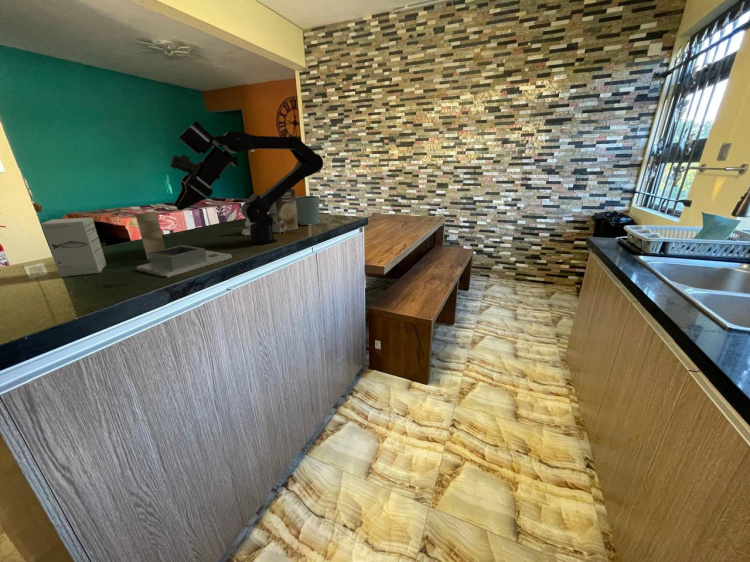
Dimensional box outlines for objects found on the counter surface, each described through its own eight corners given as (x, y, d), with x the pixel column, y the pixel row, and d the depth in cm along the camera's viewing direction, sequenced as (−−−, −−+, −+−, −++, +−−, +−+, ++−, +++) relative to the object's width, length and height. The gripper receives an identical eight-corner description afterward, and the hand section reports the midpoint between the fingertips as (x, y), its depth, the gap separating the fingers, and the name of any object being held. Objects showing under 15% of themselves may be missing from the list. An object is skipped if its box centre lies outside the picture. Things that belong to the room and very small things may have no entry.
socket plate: (202, 253, 91) (200, 239, 90) (231, 257, 86) (229, 243, 85) (137, 270, 76) (132, 254, 74) (167, 277, 71) (163, 260, 70)
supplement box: (59, 278, 71) (38, 223, 66) (71, 269, 77) (52, 218, 72) (100, 273, 74) (82, 220, 69) (108, 265, 80) (92, 216, 76)
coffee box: (280, 233, 118) (275, 190, 113) (270, 231, 122) (264, 189, 116) (298, 229, 125) (295, 188, 120) (288, 228, 129) (284, 188, 123)
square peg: (166, 253, 91) (156, 212, 87) (167, 256, 87) (156, 214, 83) (147, 256, 88) (136, 213, 84) (147, 259, 85) (135, 215, 81)
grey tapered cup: (325, 223, 139) (323, 196, 135) (312, 227, 131) (310, 198, 127) (306, 221, 143) (304, 195, 139) (293, 225, 135) (290, 197, 130)
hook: (225, 222, 111) (231, 209, 115) (245, 244, 120) (250, 231, 124) (243, 219, 109) (248, 205, 113) (262, 241, 118) (266, 228, 122)
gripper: (182, 146, 91) (147, 186, 89) (189, 142, 77) (147, 189, 75) (216, 174, 98) (184, 211, 96) (228, 175, 84) (191, 219, 82)
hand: (176, 208), depth 87 cm, fingers open, 9 cm apart
